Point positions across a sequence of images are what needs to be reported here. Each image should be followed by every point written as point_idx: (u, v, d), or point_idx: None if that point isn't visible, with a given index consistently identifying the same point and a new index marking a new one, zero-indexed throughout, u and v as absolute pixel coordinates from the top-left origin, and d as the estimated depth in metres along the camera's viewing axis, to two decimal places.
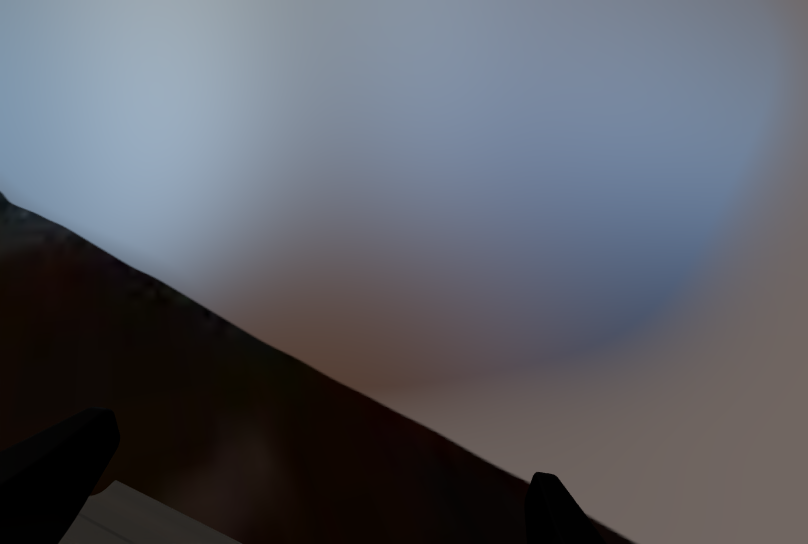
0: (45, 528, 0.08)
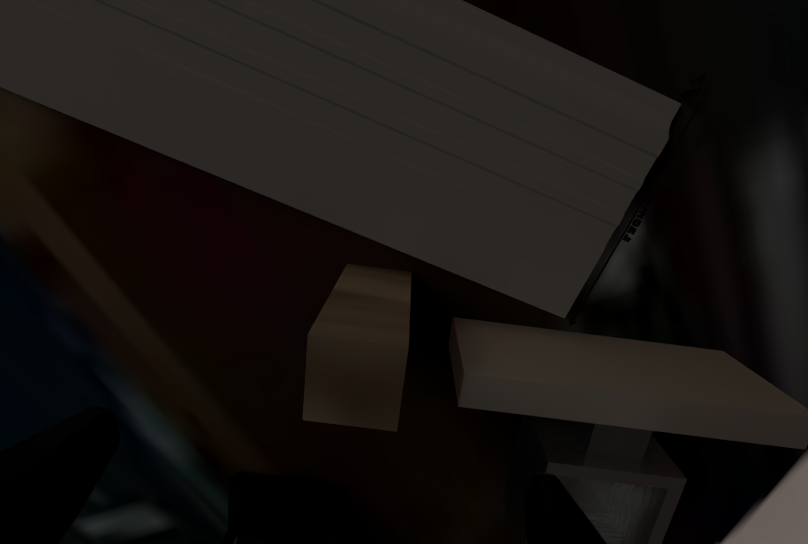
0: (45, 528, 0.08)
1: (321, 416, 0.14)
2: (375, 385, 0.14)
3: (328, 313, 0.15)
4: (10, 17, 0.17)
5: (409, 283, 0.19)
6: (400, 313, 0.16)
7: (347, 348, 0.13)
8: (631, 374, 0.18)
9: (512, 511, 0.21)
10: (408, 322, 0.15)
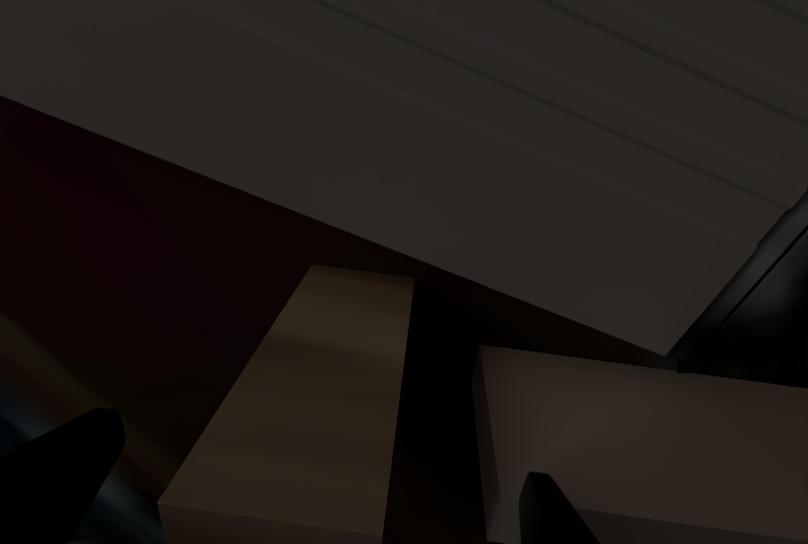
0: (52, 529, 0.08)
1: None
2: None
3: (233, 413, 0.08)
4: None
5: (408, 307, 0.11)
6: (380, 398, 0.08)
7: (249, 531, 0.06)
8: (793, 477, 0.10)
9: None
10: (393, 431, 0.08)
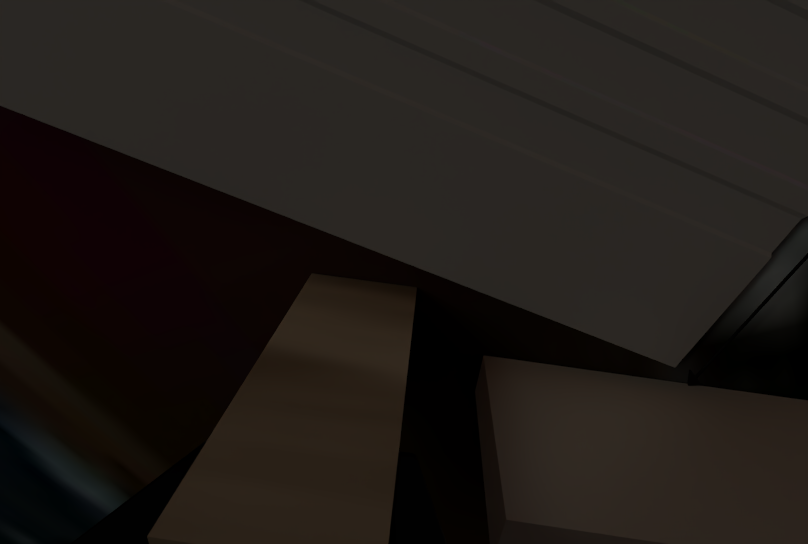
0: None
1: None
2: None
3: (229, 435, 0.07)
4: None
5: (410, 319, 0.11)
6: (383, 418, 0.08)
7: None
8: None
9: None
10: (395, 454, 0.07)
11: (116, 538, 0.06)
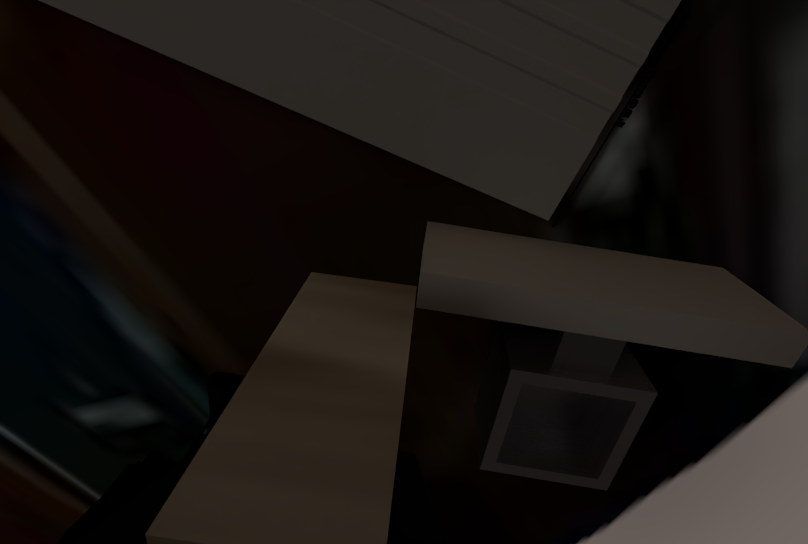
0: None
1: None
2: None
3: (227, 433, 0.07)
4: None
5: (410, 317, 0.11)
6: (382, 417, 0.08)
7: None
8: (610, 282, 0.17)
9: (479, 419, 0.21)
10: (395, 453, 0.07)
11: (116, 538, 0.06)
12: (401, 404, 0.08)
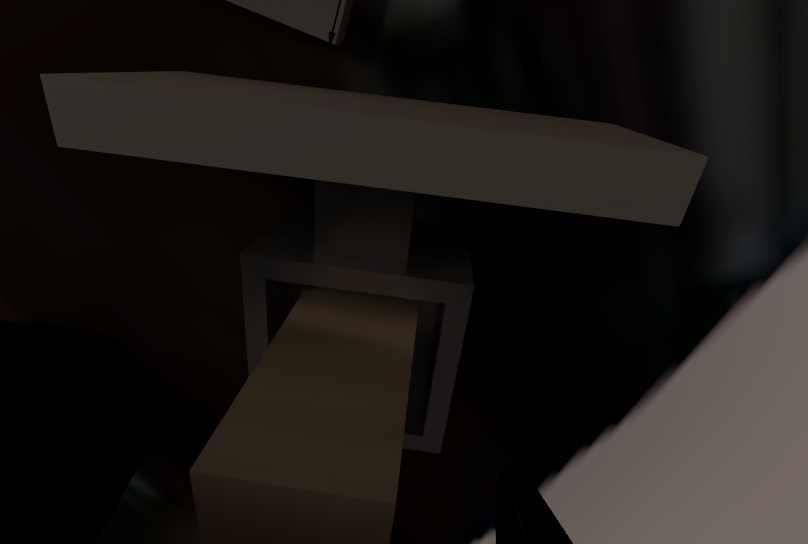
0: (79, 533, 0.08)
1: None
2: None
3: (255, 394, 0.08)
4: None
5: (416, 300, 0.12)
6: (392, 383, 0.09)
7: (273, 498, 0.07)
8: (392, 108, 0.10)
9: None
10: (404, 412, 0.08)
11: None
12: (409, 373, 0.09)
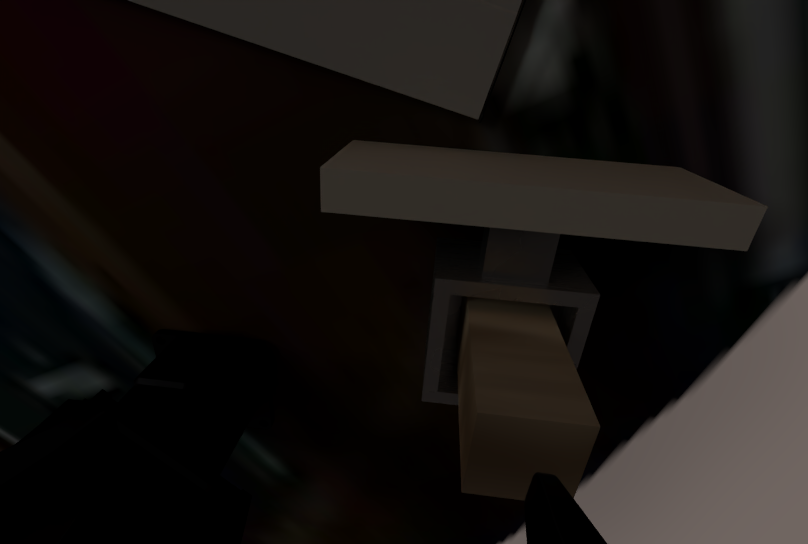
0: (45, 528, 0.08)
1: (483, 490, 0.12)
2: (552, 463, 0.12)
3: (483, 370, 0.13)
4: None
5: (547, 305, 0.17)
6: (561, 361, 0.13)
7: (524, 427, 0.11)
8: (538, 174, 0.15)
9: (425, 353, 0.19)
10: (578, 378, 0.13)
11: None
12: (568, 355, 0.14)
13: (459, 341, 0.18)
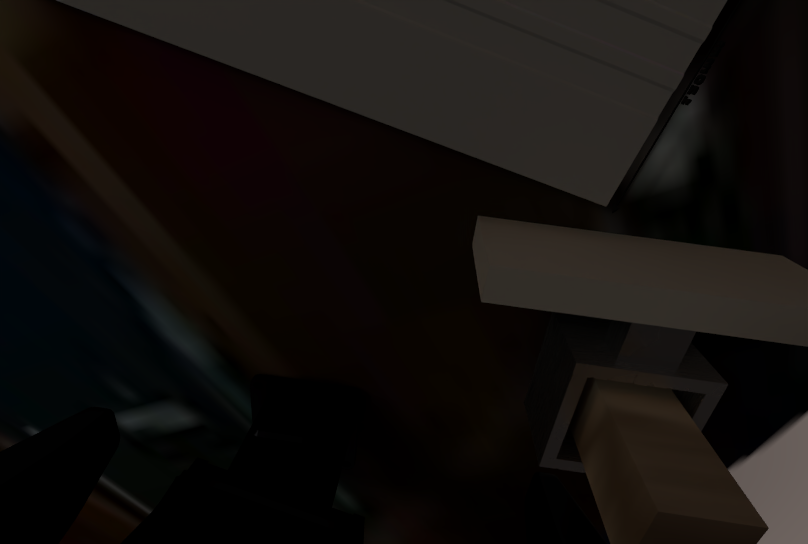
0: (45, 528, 0.08)
1: None
2: None
3: (642, 462, 0.14)
4: None
5: None
6: (706, 452, 0.15)
7: (698, 525, 0.13)
8: (676, 272, 0.16)
9: (533, 415, 0.21)
10: (728, 472, 0.14)
11: None
12: (708, 444, 0.15)
13: None
